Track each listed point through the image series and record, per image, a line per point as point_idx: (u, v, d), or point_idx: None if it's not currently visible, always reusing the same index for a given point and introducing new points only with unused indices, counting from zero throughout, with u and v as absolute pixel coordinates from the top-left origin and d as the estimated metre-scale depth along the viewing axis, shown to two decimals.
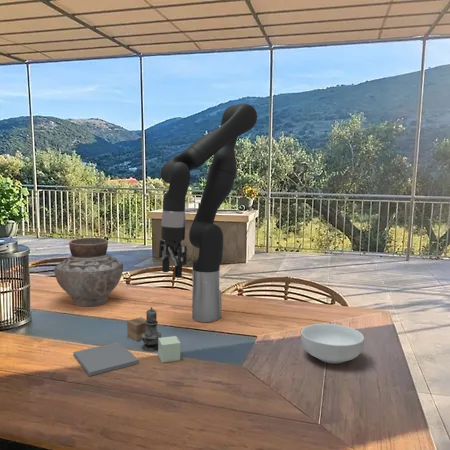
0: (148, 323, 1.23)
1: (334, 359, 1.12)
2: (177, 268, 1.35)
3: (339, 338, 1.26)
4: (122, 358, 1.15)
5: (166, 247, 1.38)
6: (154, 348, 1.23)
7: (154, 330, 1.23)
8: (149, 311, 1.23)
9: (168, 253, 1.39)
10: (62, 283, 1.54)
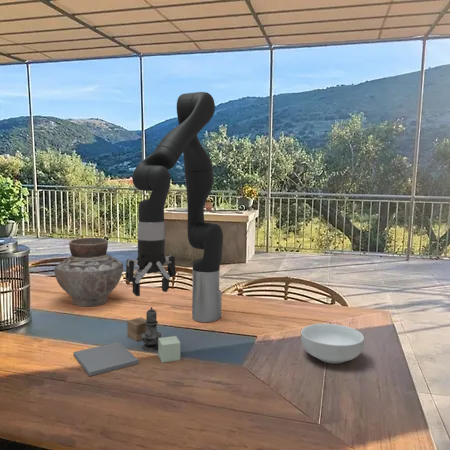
0: (148, 323, 1.23)
1: (334, 359, 1.12)
2: (167, 281, 1.25)
3: (339, 338, 1.26)
4: (122, 358, 1.15)
5: (151, 264, 1.20)
6: (154, 348, 1.23)
7: (154, 330, 1.23)
8: (149, 311, 1.23)
9: (150, 270, 1.21)
10: (62, 283, 1.54)
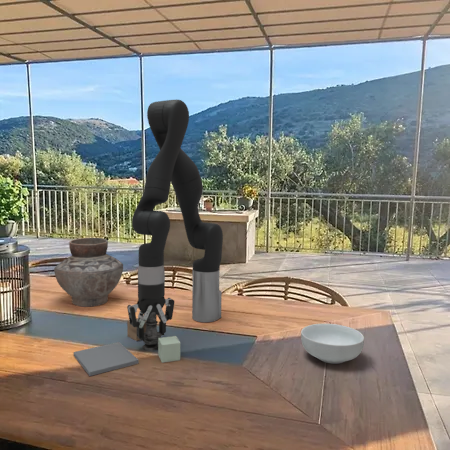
0: (148, 323, 1.23)
1: (334, 359, 1.12)
2: (164, 324, 1.26)
3: (339, 338, 1.26)
4: (122, 358, 1.15)
5: (152, 306, 1.21)
6: (154, 348, 1.23)
7: (154, 330, 1.23)
8: None
9: None
10: (62, 283, 1.54)
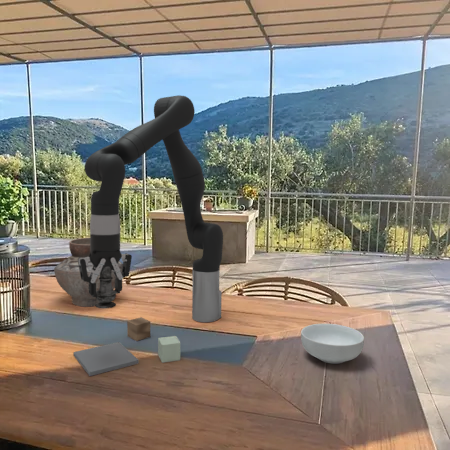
0: (101, 278, 1.12)
1: (334, 359, 1.12)
2: (120, 281, 1.15)
3: (339, 338, 1.26)
4: (122, 358, 1.15)
5: (105, 260, 1.11)
6: (108, 306, 1.12)
7: (108, 286, 1.12)
8: None
9: (106, 266, 1.12)
10: (62, 283, 1.54)
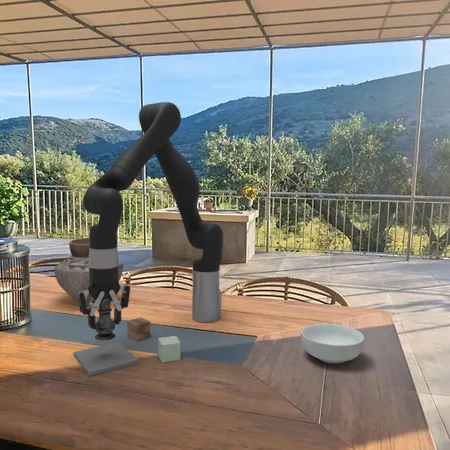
0: (100, 310, 1.13)
1: (334, 359, 1.12)
2: (119, 312, 1.16)
3: (339, 338, 1.26)
4: (122, 358, 1.15)
5: (104, 293, 1.12)
6: (107, 338, 1.13)
7: (107, 318, 1.14)
8: None
9: None
10: (62, 283, 1.54)
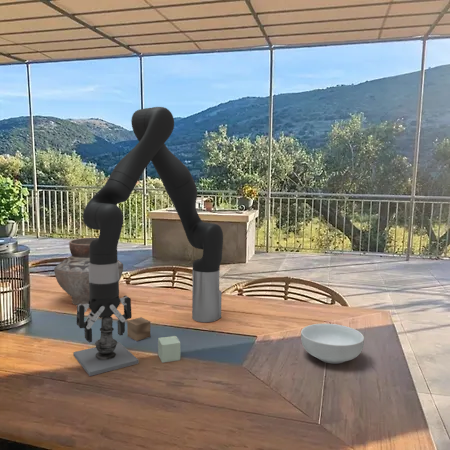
0: (103, 330, 1.14)
1: (334, 359, 1.12)
2: (123, 324, 1.17)
3: (339, 338, 1.26)
4: (122, 358, 1.15)
5: (104, 308, 1.12)
6: (108, 357, 1.14)
7: (109, 338, 1.14)
8: (104, 317, 1.14)
9: (103, 314, 1.13)
10: (62, 283, 1.54)
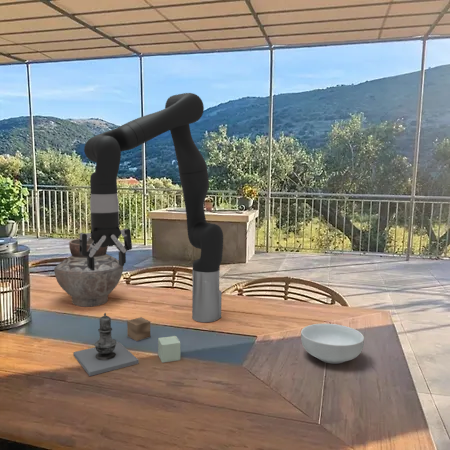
0: (101, 330, 1.14)
1: (334, 359, 1.12)
2: (124, 254, 1.23)
3: (339, 338, 1.26)
4: (122, 358, 1.15)
5: (105, 237, 1.18)
6: (108, 357, 1.14)
7: (108, 338, 1.14)
8: (102, 317, 1.14)
9: (105, 244, 1.18)
10: (62, 283, 1.54)
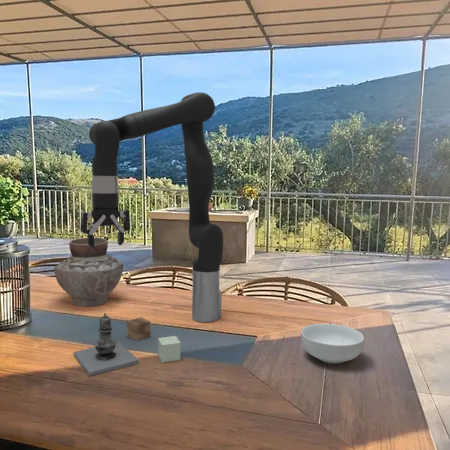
0: (101, 330, 1.14)
1: (334, 359, 1.12)
2: (122, 234, 1.30)
3: (339, 338, 1.26)
4: (122, 358, 1.15)
5: (105, 217, 1.25)
6: (108, 357, 1.14)
7: (108, 338, 1.14)
8: (102, 317, 1.14)
9: (104, 223, 1.26)
10: (62, 283, 1.54)
